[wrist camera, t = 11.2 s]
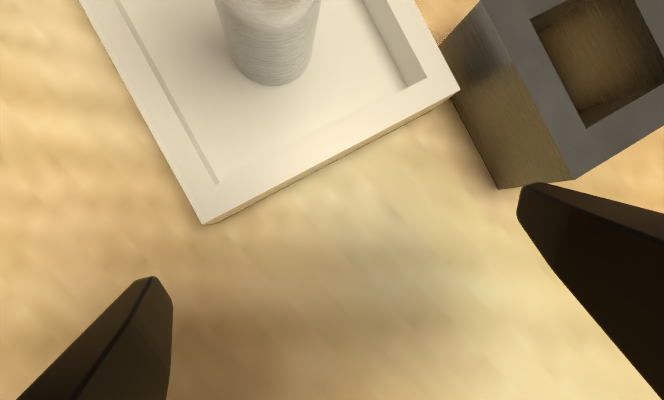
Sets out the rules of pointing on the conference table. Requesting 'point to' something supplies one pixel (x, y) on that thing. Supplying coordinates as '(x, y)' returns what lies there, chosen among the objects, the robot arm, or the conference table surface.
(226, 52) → the tray
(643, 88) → the block
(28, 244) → the conference table surface
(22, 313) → the conference table surface
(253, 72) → the hitch pin
